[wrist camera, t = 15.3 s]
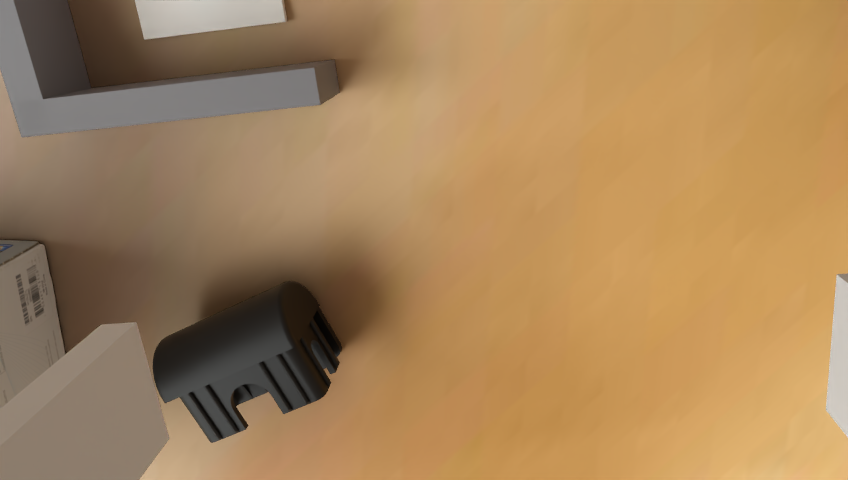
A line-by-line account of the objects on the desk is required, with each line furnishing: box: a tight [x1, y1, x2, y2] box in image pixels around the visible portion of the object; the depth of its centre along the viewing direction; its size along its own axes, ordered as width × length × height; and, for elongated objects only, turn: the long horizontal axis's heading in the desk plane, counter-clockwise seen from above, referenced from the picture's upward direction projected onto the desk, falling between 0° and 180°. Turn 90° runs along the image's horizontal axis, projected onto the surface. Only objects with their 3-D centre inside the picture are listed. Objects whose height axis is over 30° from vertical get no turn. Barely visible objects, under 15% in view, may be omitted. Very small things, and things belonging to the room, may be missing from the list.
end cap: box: [153, 281, 342, 443], centre depth 46 cm, size 10×7×7 cm
